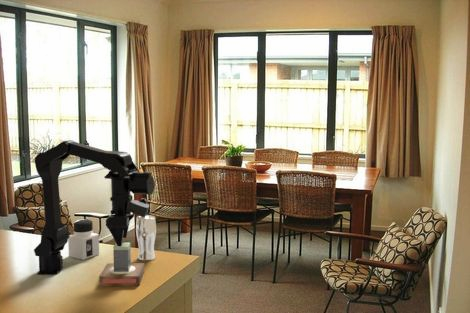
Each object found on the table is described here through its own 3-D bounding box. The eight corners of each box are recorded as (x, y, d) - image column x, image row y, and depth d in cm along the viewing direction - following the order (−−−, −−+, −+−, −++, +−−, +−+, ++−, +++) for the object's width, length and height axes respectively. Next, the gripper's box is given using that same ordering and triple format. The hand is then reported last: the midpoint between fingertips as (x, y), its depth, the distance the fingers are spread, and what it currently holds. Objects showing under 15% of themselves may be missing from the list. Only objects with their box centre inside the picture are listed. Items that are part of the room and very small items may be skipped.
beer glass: (152, 262, 173) (151, 220, 171) (133, 260, 174) (132, 219, 172) (159, 255, 180) (158, 215, 178) (141, 254, 181) (140, 214, 179)
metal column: (113, 271, 154) (113, 246, 153) (116, 266, 159) (116, 242, 158) (128, 271, 154) (128, 246, 153) (130, 266, 159) (130, 242, 158)
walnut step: (99, 286, 150) (99, 276, 150) (107, 272, 162) (107, 263, 162) (139, 285, 151) (138, 276, 151) (144, 271, 163) (144, 262, 163)
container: (99, 254, 181) (98, 219, 179) (82, 260, 174) (81, 224, 173) (85, 250, 185) (84, 216, 183) (68, 256, 178) (67, 221, 177)
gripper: (143, 198, 145) (144, 250, 146) (150, 187, 163) (151, 233, 165) (104, 199, 144) (106, 251, 146) (116, 187, 163) (117, 233, 164)
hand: (122, 241), depth 155 cm, fingers open, 9 cm apart
